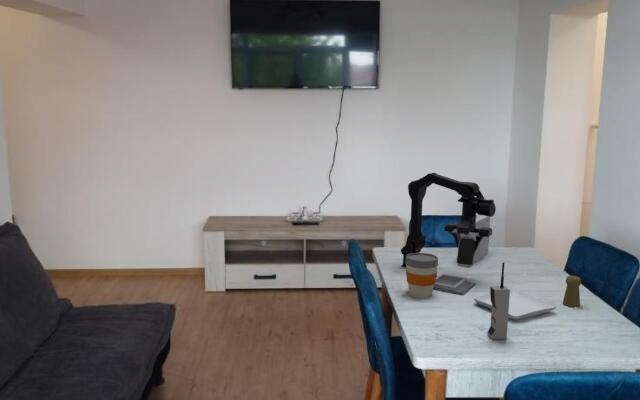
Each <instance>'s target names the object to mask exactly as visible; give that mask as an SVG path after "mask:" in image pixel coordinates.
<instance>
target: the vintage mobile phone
mask: <svg viewBox="0 0 640 400" xmlns="http://www.w3.org/2000/svg"><path fill="white" fill-rule="evenodd" d="M504 273H505V262H502V266H501V276H500V285H491V286H489V287H490V288H489V290H490V292H489V294H490V296H491V302H492V310H491V312H490V315H491V317H490V326H489V328H488V330H487V333H486V335H487V336H488V337H489V339H490V340H491V341H501V340H502V341H503V340H507V339H508V327H509V326H508V325H509V324H508V323H509V317H508V312H509V297H510V290H509V289H510V288H508V287H506V286H505V285H504V279H505V276H504Z"/></svg>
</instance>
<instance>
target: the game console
mask: <svg viewBox="0 0 640 400" xmlns="http://www.w3.org/2000/svg"><path fill="white" fill-rule="evenodd" d="M476 215H477V218H476V227H475V228H477V229H480V228H482V227H487V228H491V226H490V225H491V217H490V216H483V215H478V214H476ZM477 235H478V234H477V233H473V232H469V234H462V233H461V234H460V238H461V237H469V238H473V239H475V241H476V236H477ZM489 240H490V236H489V237H484V238H482V240H481V242H480V244H479V246H478V248H477V250H476V251H475V254H474V258H473V264H475V263H477V262H479V261H480V260H482V259H483V258H485V257H486V256H487V255H488V252H489V242H490V241H489ZM456 265H457V266H459V267H465V268H470V267H471V266H472V265H465V264H458V263H457V262H456Z"/></svg>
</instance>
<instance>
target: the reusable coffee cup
mask: <svg viewBox="0 0 640 400" xmlns="http://www.w3.org/2000/svg"><path fill="white" fill-rule="evenodd" d="M438 258H439V257H438V256H437V255H435V254H432V253H426V252H419V253H411V254H408V255H407V256H406V262H405V264H406V267H407V268H406V267H405V268H406V269H405V274H406V277H405V278H406V283H407V285H408V287H407V288H408V294H409V296H411V297H413V296H414V298H418V297H420V298H419V299H428V298H431V297H432V296H433V293H434V292H433V291H434V290H433V287H434V284H435V282H436V276H438V270H437V269H438V266H439V259H438Z"/></svg>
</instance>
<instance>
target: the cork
mask: <svg viewBox="0 0 640 400" xmlns="http://www.w3.org/2000/svg"><path fill="white" fill-rule="evenodd" d="M565 284H566V289H565V292H564V296H563V299H562V300H563V301H562V305H563V306H565V307H566V306H567V308H571V307H572V308H571V309H573V308H574V307H578V308H580V307H581V297H580V286H581V284H582V279H581V277H580V276H577V275H568V276H567V277H566V278H565ZM574 309H575V308H574Z"/></svg>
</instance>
